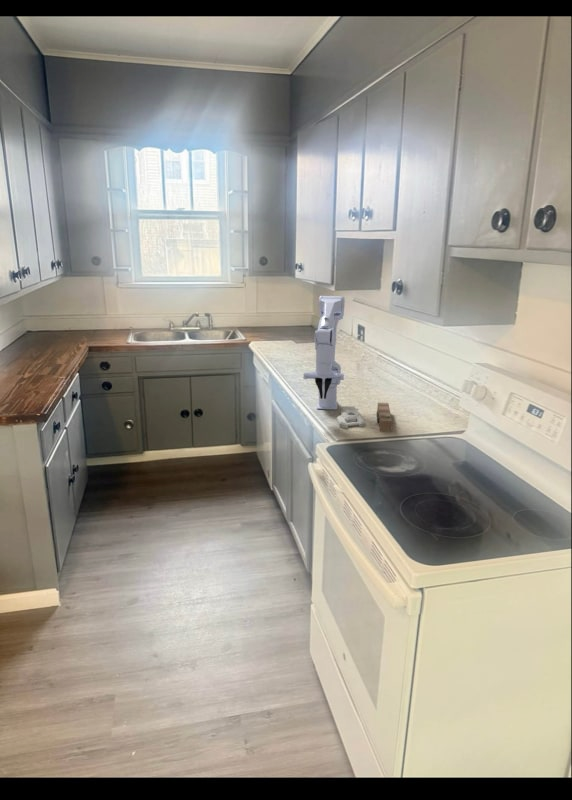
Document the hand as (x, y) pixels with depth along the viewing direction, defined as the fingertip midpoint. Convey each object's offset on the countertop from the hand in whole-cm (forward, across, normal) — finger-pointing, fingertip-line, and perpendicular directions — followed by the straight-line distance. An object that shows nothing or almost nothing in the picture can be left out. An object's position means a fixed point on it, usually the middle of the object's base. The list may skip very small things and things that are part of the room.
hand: (323, 397), depth 193 cm
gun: (+9, +10, 0) cm, 13 cm away
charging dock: (+8, +22, 0) cm, 24 cm away
